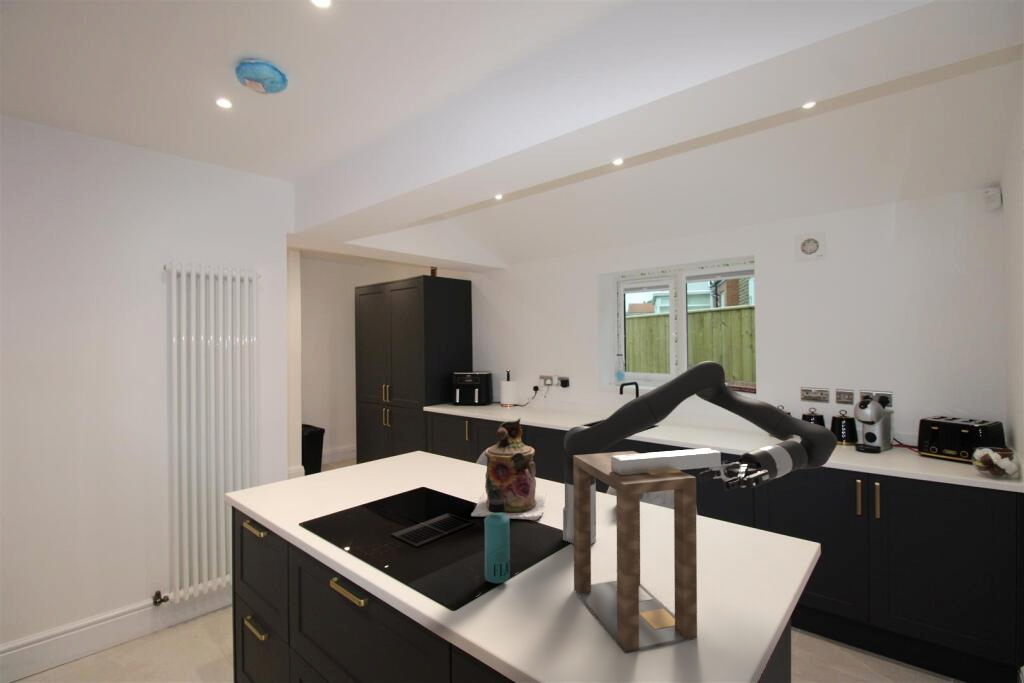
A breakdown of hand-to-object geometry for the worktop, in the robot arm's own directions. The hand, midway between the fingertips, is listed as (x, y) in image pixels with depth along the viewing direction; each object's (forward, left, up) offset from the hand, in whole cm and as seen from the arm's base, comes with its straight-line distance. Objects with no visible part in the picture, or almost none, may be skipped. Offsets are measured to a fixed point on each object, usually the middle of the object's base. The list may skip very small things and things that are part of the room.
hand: (711, 482), depth 110 cm
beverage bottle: (-49, -11, -27) cm, 57 cm away
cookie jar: (-64, +40, -27) cm, 80 cm away
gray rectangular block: (-9, -14, +6) cm, 18 cm away
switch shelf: (-17, -13, -26) cm, 34 cm away
